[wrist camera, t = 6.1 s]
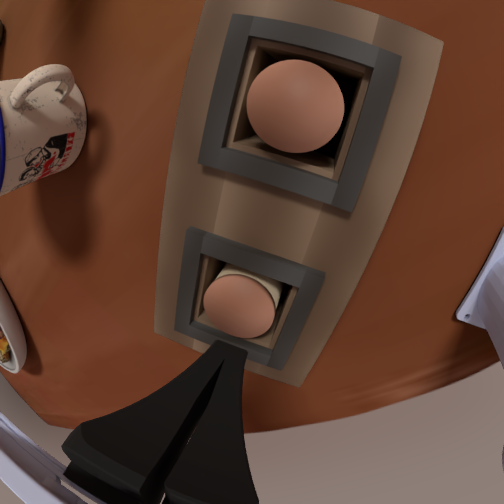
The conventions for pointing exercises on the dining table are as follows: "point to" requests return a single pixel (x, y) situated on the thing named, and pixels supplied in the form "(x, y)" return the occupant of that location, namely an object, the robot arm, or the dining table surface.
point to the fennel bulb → (1, 30)
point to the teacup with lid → (39, 125)
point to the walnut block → (285, 172)
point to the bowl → (11, 335)
